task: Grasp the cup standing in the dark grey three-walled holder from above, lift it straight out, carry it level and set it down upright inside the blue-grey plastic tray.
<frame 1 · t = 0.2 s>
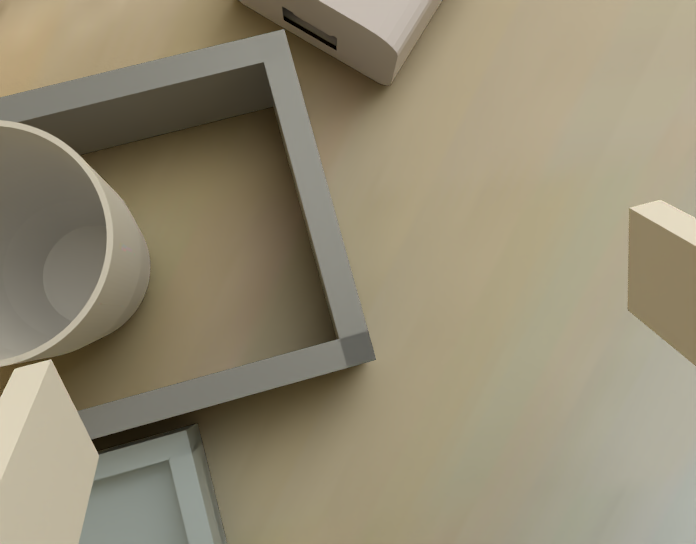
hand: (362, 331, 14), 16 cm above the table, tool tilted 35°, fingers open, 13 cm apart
holder: (126, 267, 30), on the table
cup: (97, 276, 31), resting in holder
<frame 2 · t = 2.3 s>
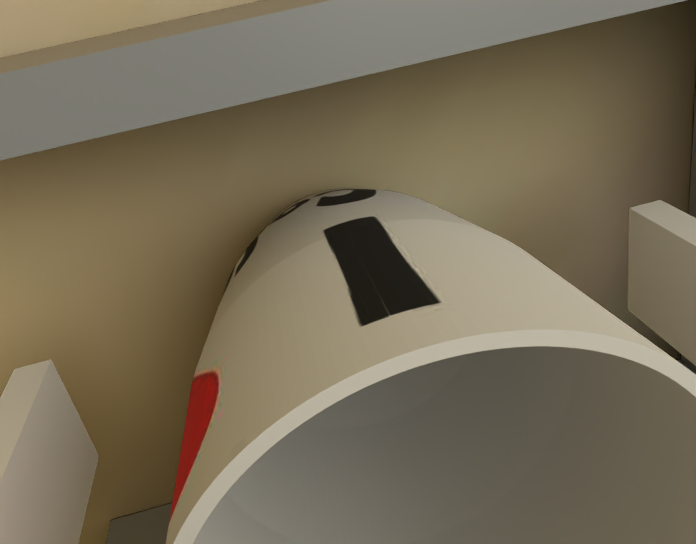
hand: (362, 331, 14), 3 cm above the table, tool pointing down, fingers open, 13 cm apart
holder: (395, 264, 17), on the table
cup: (340, 275, 18), resting in holder
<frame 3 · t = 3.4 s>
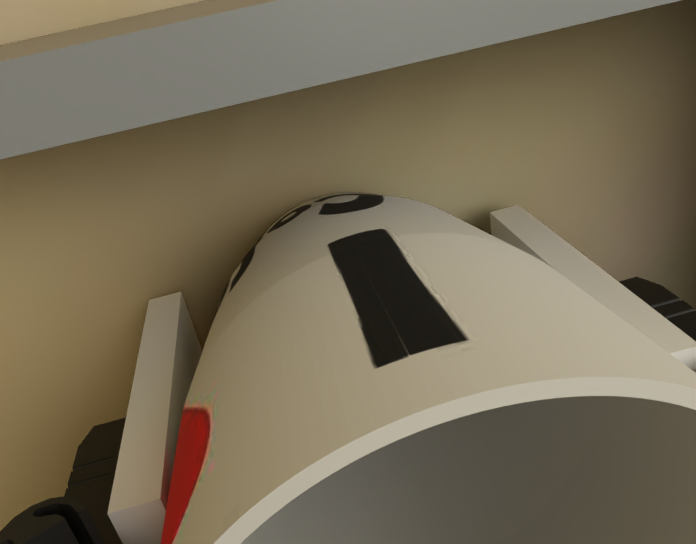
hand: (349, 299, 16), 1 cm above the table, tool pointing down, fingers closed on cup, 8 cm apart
holder: (400, 272, 16), on the table
cup: (343, 283, 16), resting in holder, touching gripper
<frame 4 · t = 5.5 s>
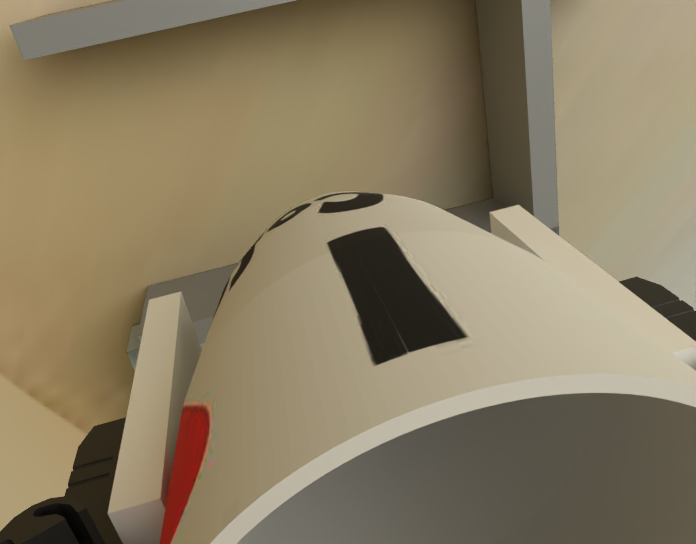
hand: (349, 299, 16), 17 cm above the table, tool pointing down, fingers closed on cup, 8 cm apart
tray: (281, 389, 37), on the table
holder: (311, 127, 31), on the table
cup: (343, 282, 16), point 16 cm above the table, touching gripper
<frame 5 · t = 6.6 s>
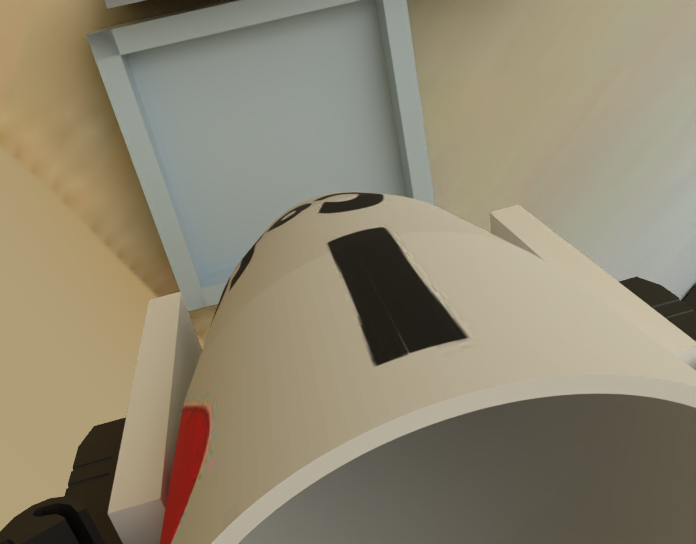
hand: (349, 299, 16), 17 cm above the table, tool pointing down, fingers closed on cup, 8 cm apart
tray: (279, 139, 31), on the table
cup: (343, 282, 16), point 16 cm above the table, touching gripper
when the fingers open (4 cm above the table, at t = 9.9 s): cup drops 2 cm, resting on tray.
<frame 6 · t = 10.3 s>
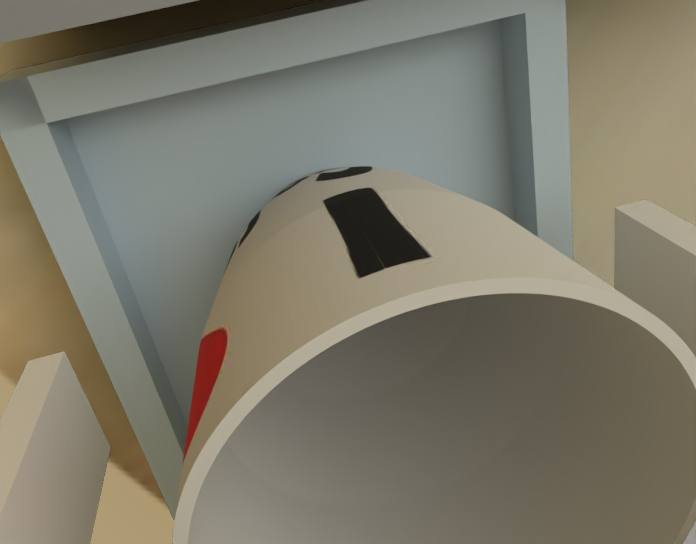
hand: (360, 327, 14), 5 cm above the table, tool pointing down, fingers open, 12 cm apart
tray: (326, 242, 19), on the table
cup: (338, 252, 18), point 1 cm above the table, touching tray
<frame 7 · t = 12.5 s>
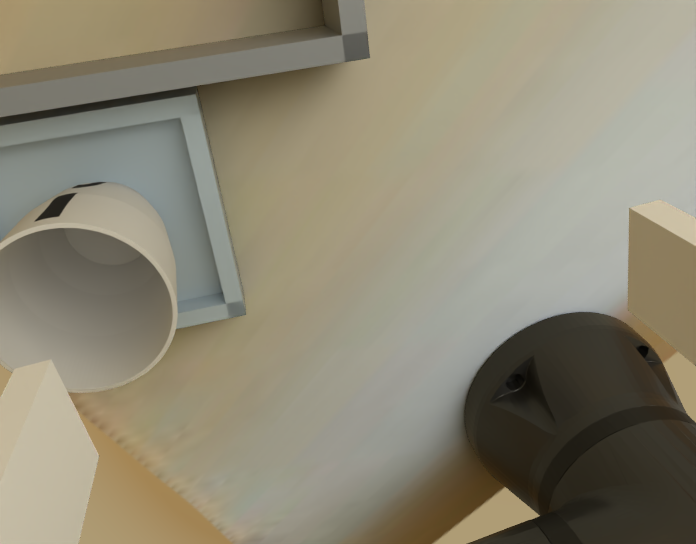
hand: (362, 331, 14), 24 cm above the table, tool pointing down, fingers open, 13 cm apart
tray: (108, 219, 36), on the table
cup: (111, 224, 35), point 1 cm above the table, touching tray
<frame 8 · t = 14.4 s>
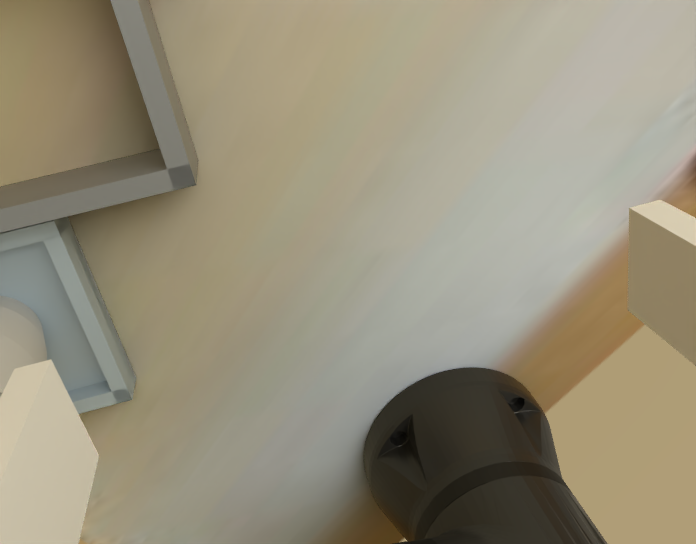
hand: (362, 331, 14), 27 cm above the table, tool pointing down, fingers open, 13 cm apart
tray: (1, 324, 41), on the table
cup: (1, 329, 40), point 1 cm above the table, touching tray
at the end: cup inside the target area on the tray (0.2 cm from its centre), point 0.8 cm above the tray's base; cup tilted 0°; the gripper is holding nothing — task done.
